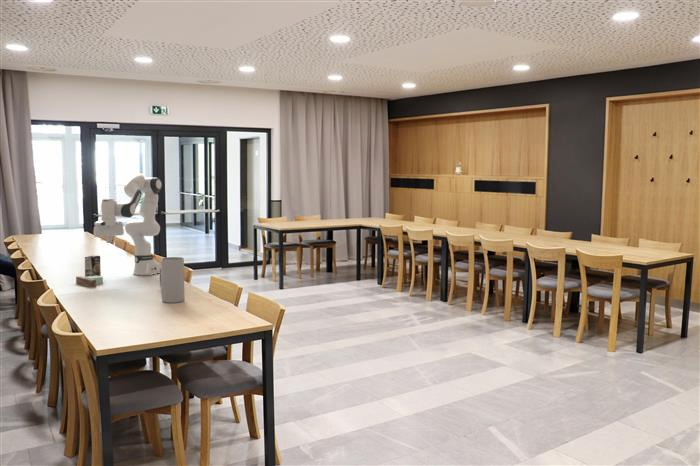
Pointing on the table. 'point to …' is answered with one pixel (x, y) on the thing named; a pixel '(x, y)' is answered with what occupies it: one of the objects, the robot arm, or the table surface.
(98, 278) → the block
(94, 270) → the coffee box
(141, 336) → the table surface
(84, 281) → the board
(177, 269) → the cylinder vase
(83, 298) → the table surface
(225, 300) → the table surface
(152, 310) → the table surface
